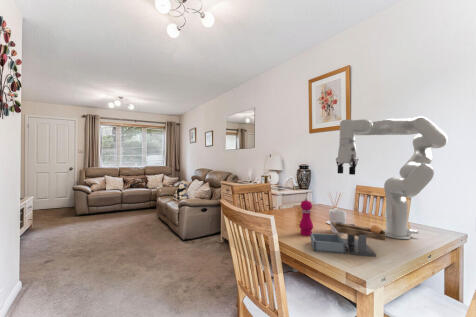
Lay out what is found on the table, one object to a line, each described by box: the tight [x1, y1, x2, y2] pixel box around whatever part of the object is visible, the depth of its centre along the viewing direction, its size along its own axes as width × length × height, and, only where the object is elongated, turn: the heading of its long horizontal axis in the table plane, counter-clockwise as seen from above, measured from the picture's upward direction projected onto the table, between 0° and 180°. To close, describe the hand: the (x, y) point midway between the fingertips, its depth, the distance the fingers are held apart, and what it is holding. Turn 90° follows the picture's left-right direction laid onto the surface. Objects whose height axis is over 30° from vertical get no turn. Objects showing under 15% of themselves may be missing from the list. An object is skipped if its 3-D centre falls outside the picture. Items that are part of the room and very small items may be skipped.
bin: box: [310, 232, 346, 255], centre depth 105 cm, size 13×12×4 cm
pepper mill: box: [298, 197, 314, 237], centre depth 125 cm, size 7×7×20 cm
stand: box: [341, 223, 377, 258], centre depth 106 cm, size 10×18×9 cm, turn 169°
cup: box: [328, 208, 347, 235], centre depth 129 cm, size 9×9×12 cm
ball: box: [370, 224, 382, 234], centre depth 101 cm, size 4×4×4 cm
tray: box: [332, 222, 387, 242], centre depth 106 cm, size 19×15×4 cm
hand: (345, 173), depth 124 cm, fingers open, 9 cm apart
